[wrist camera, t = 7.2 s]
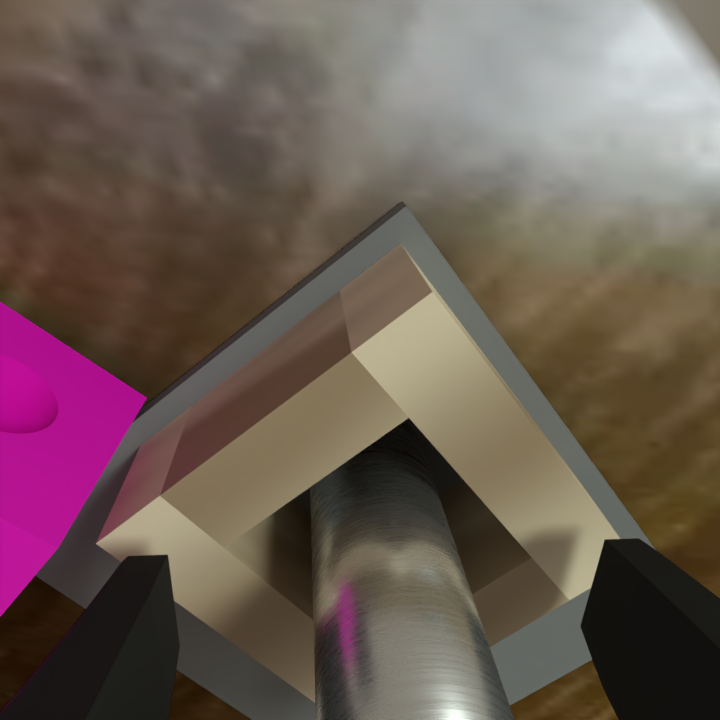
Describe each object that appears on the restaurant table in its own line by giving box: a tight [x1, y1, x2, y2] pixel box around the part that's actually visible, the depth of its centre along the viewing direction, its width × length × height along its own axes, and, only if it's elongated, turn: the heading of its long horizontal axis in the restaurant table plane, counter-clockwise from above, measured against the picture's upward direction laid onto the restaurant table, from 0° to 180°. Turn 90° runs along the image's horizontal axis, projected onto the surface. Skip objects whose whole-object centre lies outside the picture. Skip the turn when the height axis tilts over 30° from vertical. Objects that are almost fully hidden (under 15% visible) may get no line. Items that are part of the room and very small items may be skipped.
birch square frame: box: [96, 243, 620, 703], centre depth 12 cm, size 7×7×3 cm
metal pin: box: [310, 421, 514, 720], centre depth 9 cm, size 3×3×8 cm
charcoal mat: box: [35, 202, 655, 720], centre depth 15 cm, size 14×12×1 cm
